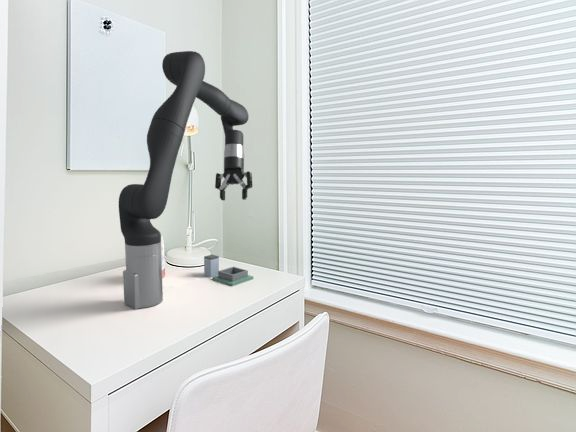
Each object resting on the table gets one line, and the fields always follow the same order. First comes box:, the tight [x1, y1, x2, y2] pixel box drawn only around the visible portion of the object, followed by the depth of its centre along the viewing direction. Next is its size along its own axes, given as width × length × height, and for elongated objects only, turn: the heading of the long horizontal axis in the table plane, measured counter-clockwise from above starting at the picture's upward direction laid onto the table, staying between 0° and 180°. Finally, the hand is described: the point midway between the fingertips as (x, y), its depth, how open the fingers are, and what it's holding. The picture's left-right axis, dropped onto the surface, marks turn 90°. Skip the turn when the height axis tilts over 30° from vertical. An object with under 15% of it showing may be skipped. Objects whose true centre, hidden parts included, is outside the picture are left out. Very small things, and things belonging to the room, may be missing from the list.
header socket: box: [211, 266, 254, 287], centre depth 115 cm, size 10×10×3 cm
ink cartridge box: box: [161, 235, 166, 279], centre depth 112 cm, size 9×5×15 cm, turn 179°
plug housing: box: [203, 254, 220, 278], centre depth 119 cm, size 4×4×7 cm
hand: (233, 199), depth 126 cm, fingers open, 8 cm apart
